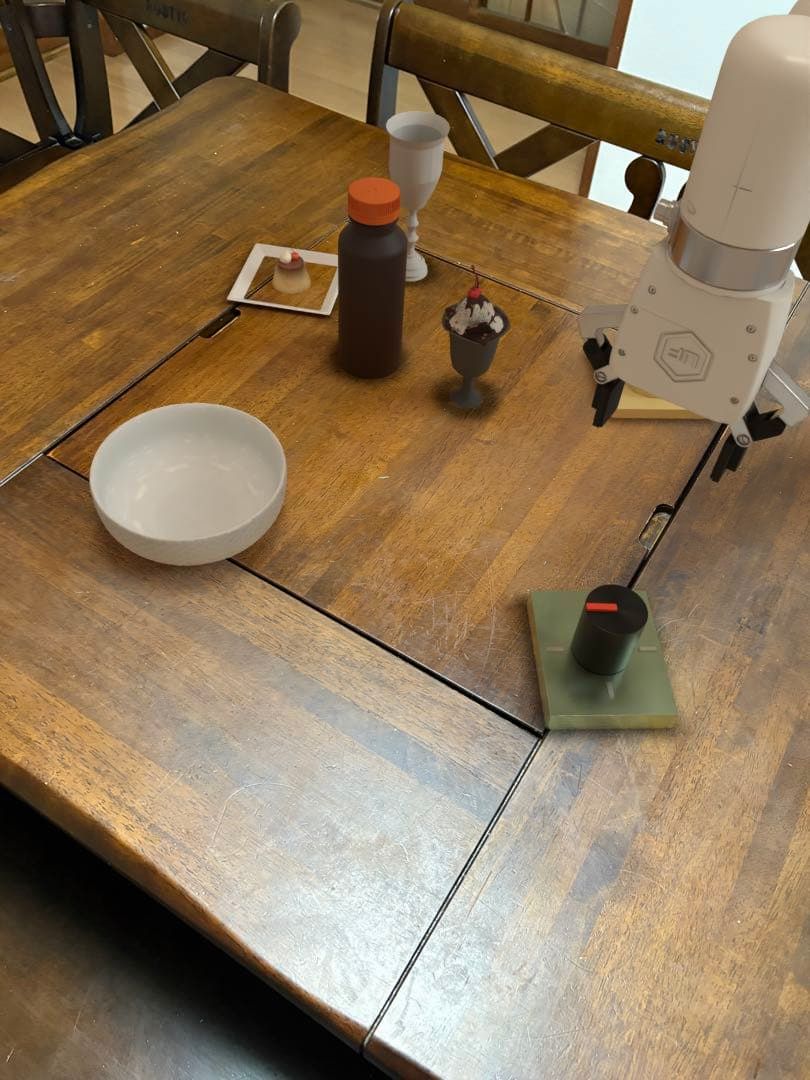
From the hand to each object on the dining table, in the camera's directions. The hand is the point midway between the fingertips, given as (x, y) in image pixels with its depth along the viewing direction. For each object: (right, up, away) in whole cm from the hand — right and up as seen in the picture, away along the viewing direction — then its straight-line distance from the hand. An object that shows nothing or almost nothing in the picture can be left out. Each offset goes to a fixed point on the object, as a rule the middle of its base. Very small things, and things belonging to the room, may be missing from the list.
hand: (661, 443), depth 70 cm
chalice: (-19, +25, +41) cm, 52 cm away
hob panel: (-4, -18, +6) cm, 19 cm away
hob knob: (-4, -16, +4) cm, 17 cm away
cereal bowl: (-38, -6, +14) cm, 41 cm away
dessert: (-33, +23, +38) cm, 55 cm away
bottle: (-23, +12, +30) cm, 40 cm away
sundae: (-13, +7, +27) cm, 31 cm away
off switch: (+7, +9, +29) cm, 31 cm away
